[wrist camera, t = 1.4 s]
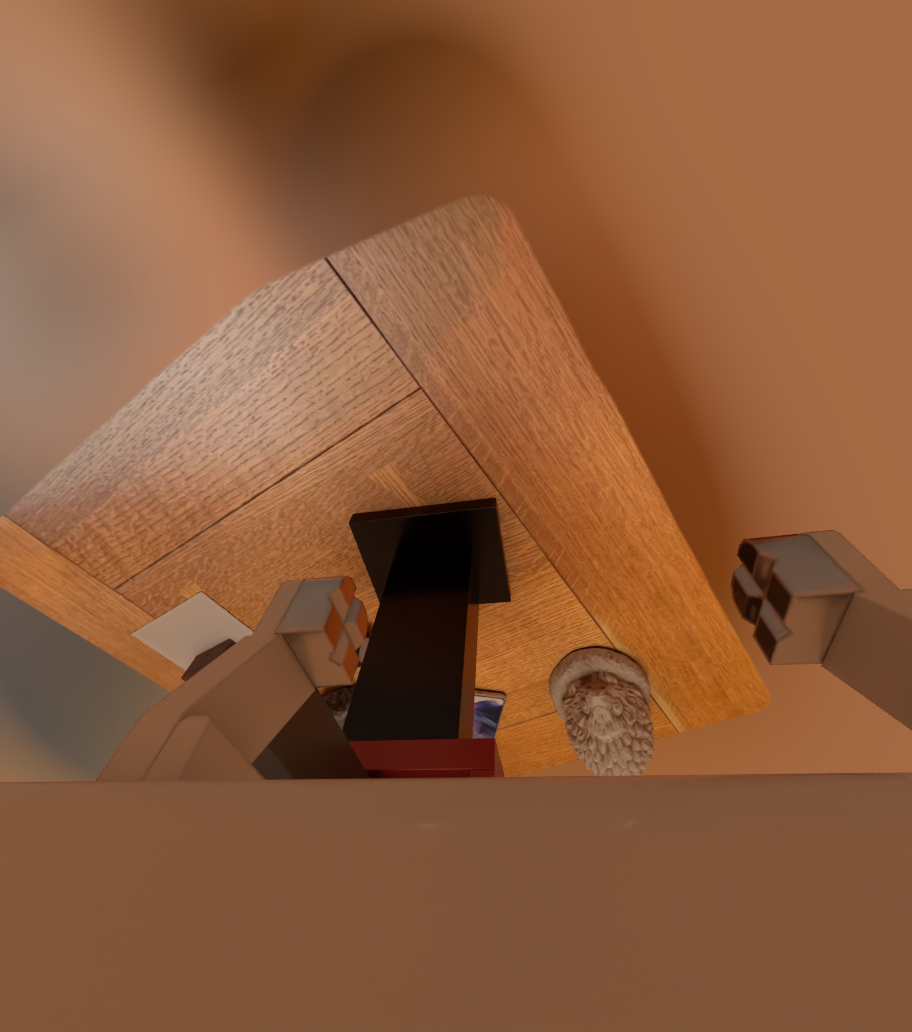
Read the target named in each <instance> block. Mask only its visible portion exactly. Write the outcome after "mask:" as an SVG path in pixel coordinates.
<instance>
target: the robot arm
mask: <svg viewBox="0 0 912 1032" xmlns="http://www.w3.org/2000/svg"><path fill="white" fill-rule="evenodd" d="M737 556H738V557H739V559H740V560H741V562H742V563H743V564H741V565H740V566H739V567H738V568H737V569H736V570H735V571H734V572H733V575H732V581H731V590H732V598H733V601H734V603H735V606H736V609H737V610H738V612H739V614H740V615H741V617H742V618H743V619H745V620H746V621H748V622H749V623H751V624H753V625H754V626H755V630H754V633H753V637H754V639H755V641H756V642H757V644H758V645H759V647H760V649H761V651H762V652H763V654H764V655H765V657H766V659H767V660H768V662H769V664H770V665H785V664H822V667H824V668H825V669H827V670H828V671H829V672H831V673H832V674H834V675H835V676H836V677H838V678H839V679H841V680H842V681H843V682H845V683H846V684H848V685H849V686H850V687H852V688H853V689H855V690H856V691H858V692H859V693H860V694H862V695H863V696H864V697H866V698H867V699H869V700H870V701H871V702H873V703H874V704H876V705H877V706H878V707H880V708H881V709H883V710H884V711H885V712H887V713H888V714H890V715H891V716H892V717H894V718H895V719H897V720H898V721H899V722H901V723H902V724H904V725H905V726H906V727H908V728H909V729H911V730H912V589H905V590H900V589H899V588H898V587H897V586H896V585H895V584H894V583H893V582H892V581H890V580H889V579H888V578H887V577H886V576H885V575H884V574H883V573H882V572H881V571H880V570H879V569H877V567H875V566H874V565H873V564H872V563H871V562H870V561H869V560H868V559H867V558H866V557H865V556H864V555H863V554H862V553H861V552H860V551H859V550H858V549H856V548H855V547H854V546H853V545H852V544H851V543H850V542H849V541H848V540H847V539H846V538H845V537H844V536H843V535H842V534H840V533H839V532H836V531H834V530H825V531H816V532H807V533H801V534H792V535H781V536H771V537H761V538H751V539H744V540H743V541H742V542H741V544H740V545H739V549H738V553H737ZM355 591H356V586H355V584H354V582H353V580H352V578H351V577H349V576H336V577H321V578H307V579H298V580H287V581H285V582H283V583H282V584H281V585H280V587H279V589H278V590H277V592H276V594H275V596H274V597H273V599H272V601H271V603H270V604H269V606H268V608H267V610H266V611H265V613H264V615H263V617H262V618H261V620H260V622H259V624H258V625H257V627H256V629H255V631H254V632H253V634H252V636H245V637H244V638H242V639H241V640H240V641H238V642H237V643H236V644H234V645H233V646H232V647H230V648H229V649H228V650H226V651H225V652H224V653H223V654H221V655H220V656H219V657H217V658H216V659H215V660H213V661H212V662H211V663H209V664H208V665H207V666H205V667H204V668H203V669H201V670H200V671H199V672H198V673H196V674H195V675H194V676H192V677H191V678H190V679H188V680H187V681H186V682H184V683H183V684H182V685H180V686H179V687H178V688H177V689H175V690H174V691H173V692H171V693H170V694H169V695H167V696H166V697H165V698H163V699H162V700H161V701H160V702H158V703H157V704H155V705H154V706H153V707H152V708H150V709H149V710H148V711H146V712H145V713H144V714H142V715H141V716H140V718H139V719H138V721H137V722H136V723H135V725H134V726H133V728H132V729H131V731H130V732H129V733H128V735H127V736H126V738H125V739H124V741H123V742H122V743H121V745H120V746H119V748H118V749H117V751H116V752H115V754H114V755H113V756H112V758H111V759H110V761H109V762H108V764H107V765H106V766H105V768H104V769H103V771H102V772H101V774H100V775H99V777H98V778H97V780H96V781H88V782H87V781H82V782H81V781H80V782H0V1032H912V773H830V774H828V773H827V774H741V775H740V774H737V775H736V774H733V775H636V776H557V777H556V776H550V777H463V778H372V779H280V780H265V778H264V777H263V776H262V775H261V773H260V772H259V771H258V770H257V769H256V768H255V767H254V766H253V765H252V763H253V761H254V760H255V759H256V758H257V757H258V756H259V755H260V753H261V752H262V751H263V750H264V749H265V748H266V746H267V745H268V744H269V743H270V742H271V741H272V739H273V738H274V737H275V736H276V735H277V734H278V733H279V731H280V730H281V729H282V728H283V727H284V726H285V724H286V723H287V722H288V721H289V720H290V719H291V718H292V716H293V715H294V714H295V713H296V712H297V711H298V709H299V708H300V707H301V706H302V705H303V704H304V702H305V701H306V700H307V699H308V698H309V697H310V696H311V694H312V693H313V692H314V691H315V688H320V687H333V686H345V685H351V684H352V681H353V678H354V674H355V671H356V668H357V665H358V661H359V658H358V655H357V653H356V650H357V649H358V648H359V647H360V646H361V645H362V644H363V643H364V641H365V638H366V634H367V622H368V619H367V613H366V609H365V607H364V604H363V602H362V601H360V600H359V599H358V598H356V597H355V596H354V594H355Z"/></svg>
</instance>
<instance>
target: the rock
mask: <svg viewBox="0 0 912 1032" xmlns="http://www.w3.org/2000/svg"><path fill="white" fill-rule="evenodd" d="M354 689H355V687H352V688H350V689H349V688H343V689H340V690H337V691H334V692H332V693H330V694H329V695H327V696H323V699H324V701H325V702H326V704H327V706H328V707H329V709H330V711H331V712H332V714H333V716H334V718H335V719H336V721H337V723H338V724H339V726H340V728H341V729H343V725H344V722H345V719H346V715H347V712H348V709H349V705H350V702H351V699H352V695H353V692H354Z"/></svg>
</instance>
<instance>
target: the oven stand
mask: <svg viewBox="0 0 912 1032" xmlns="http://www.w3.org/2000/svg"><path fill="white" fill-rule="evenodd" d="M349 525H350V528H351V530H352V533H353V535H354V538H355V540H356V543H357V545H358V548H359V551H360V553H361V556H362V558H363V561H364V563H365V566H366V568H367V571H368V574H369V576H370V579H371V581H372V584H373V586H374V589H375V592H376V594H377V597H378V599H379V602H380V605H379V608H378V612H377V615H376V618H375V622H374V625H373V628H372V632H371V635H370V638H369V642H368V645H367V648H366V652H365V655H364V658H363V662H362V665H361V668H360V672H359V675H358V678H357V682H356V685H355V689H354V692H353V695H352V699H351V702H350V705H349V709H348V712H347V715H346V719H345V722H344V725H343V729H342V731H343V733H344V734H345V736H346V738H347V740H348V741H349V743H350V745H351V746H352V748H353V750H354V751H355V753H356V755H357V756H358V758H359V760H360V762H361V763H362V765H363V767H364V768H365V770H366V772H367V773H368V775H369V777H370V779H372V778H463V777H504V773H503V769H502V765H501V761H500V757H499V752H498V748H497V744H496V740H495V738H473V721H474V699H475V677H476V655H477V633H478V612H479V604H486V603H499V602H511V591H510V585H509V579H508V572H507V566H506V559H505V553H504V547H503V540H502V534H501V528H500V521H499V515H498V509H497V502H496V498H491V499H482V500H473V501H464V502H456V503H447V504H438V505H429V506H421V507H412V508H403V509H394V510H386V511H377V512H368V513H359V514H353V515H352V517H351V519H350V521H349Z"/></svg>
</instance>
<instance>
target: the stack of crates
mask: <svg viewBox="0 0 912 1032" xmlns="http://www.w3.org/2000/svg"><path fill="white" fill-rule="evenodd" d="M252 634H253V631H252V630H251V629H249V628H248V627H247V626H245V625H244V624H243V623H242V622H240V621H239V620H238V619H236V618H235V617H234V616H232V615H231V614H230V613H229V612H227V611H226V610H225V609H223V608H222V607H221V606H219V605H218V604H217V603H216V602H214V601H213V600H212V599H210V598H209V597H208V596H206V595H205V594H204V593H202V592H200V593H198V594H196V595H195V596H193V597H191V598H190V599H188V600H186V601H185V602H183V603H181V604H180V605H178V606H177V607H175V608H173V609H172V610H170V611H168V612H167V613H165V614H163V615H162V616H160V617H158V618H157V619H155V620H153V621H152V622H150V623H148V624H147V625H145V626H143V627H142V628H140V629H138V630H137V631H135V632H134V633H132V634H131V635H132V636H134V637H135V638H137V639H139V640H140V641H142V642H143V643H145V644H146V645H148V646H149V647H151V648H152V649H154V650H155V651H157V652H158V653H160V654H161V655H163V656H164V657H166V658H167V659H169V660H170V661H172V662H173V663H175V664H176V665H178V666H179V667H181V668H182V669H184V670H185V671H186V672H185V673H184V675H183V676H182V678H181V679H183V680H184V681H185V682H186V681H187V680H188V679H190V678H191V677H192V676H194V675H195V674H196V673H198V672H199V671H200V670H201V669H203V668H204V667H205V666H207V665H208V664H209V663H211V662H212V661H213V659H214V658H215V656H216V655H217V654H219V653H224V652H225V651H226V650H228V649H229V648H230V647H232V646H233V645H234V644H236V643H237V642H238V641H240V640H241V639H242V638H244V637H245V636H252Z"/></svg>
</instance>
